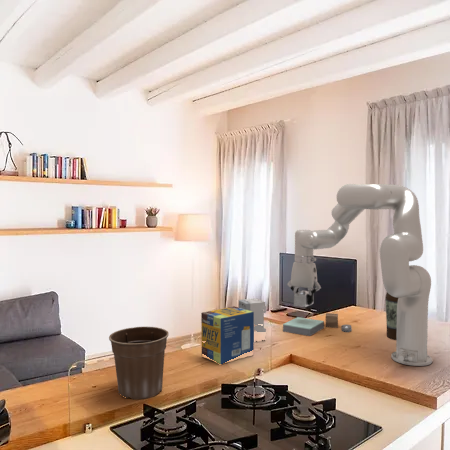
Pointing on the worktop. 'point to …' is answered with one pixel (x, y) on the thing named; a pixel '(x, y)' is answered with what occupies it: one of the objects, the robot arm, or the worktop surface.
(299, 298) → the block
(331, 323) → the walnut block
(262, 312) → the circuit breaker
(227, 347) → the protein box
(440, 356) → the worktop surface
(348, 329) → the steel spacer
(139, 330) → the plant pot
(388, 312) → the printed label canister
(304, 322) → the stand
